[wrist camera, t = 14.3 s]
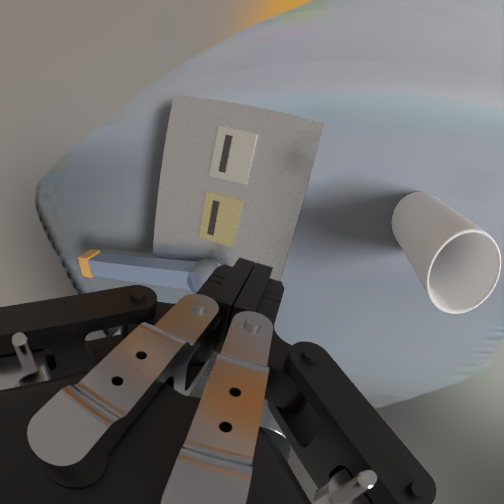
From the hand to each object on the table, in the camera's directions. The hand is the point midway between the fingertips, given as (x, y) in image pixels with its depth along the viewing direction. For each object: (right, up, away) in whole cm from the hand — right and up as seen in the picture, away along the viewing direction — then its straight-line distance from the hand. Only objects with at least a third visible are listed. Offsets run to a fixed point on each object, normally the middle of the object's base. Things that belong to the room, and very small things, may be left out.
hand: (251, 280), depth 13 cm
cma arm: (-15, -1, +27) cm, 31 cm away
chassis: (-2, +10, +27) cm, 28 cm away
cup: (+22, +5, +22) cm, 32 cm away
